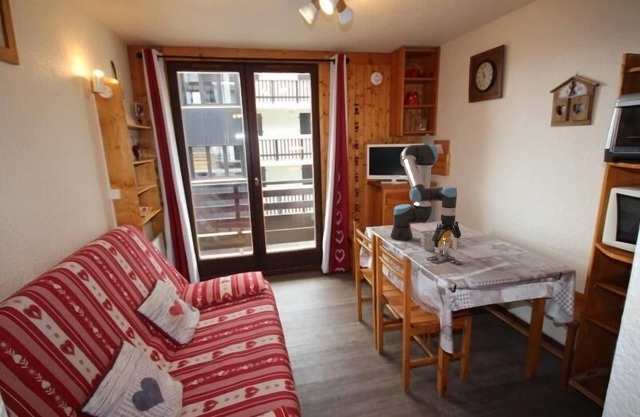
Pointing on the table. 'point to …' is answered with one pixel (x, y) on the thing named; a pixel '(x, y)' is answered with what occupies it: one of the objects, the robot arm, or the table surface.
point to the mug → (427, 242)
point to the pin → (446, 247)
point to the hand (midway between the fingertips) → (446, 250)
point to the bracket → (446, 235)
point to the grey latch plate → (455, 262)
